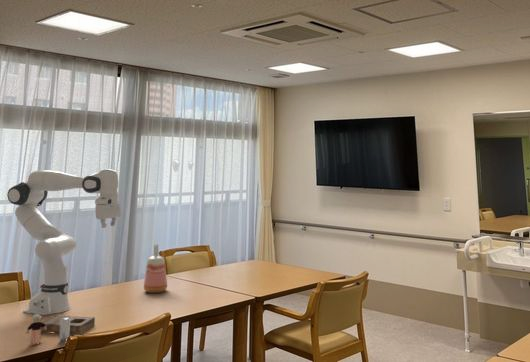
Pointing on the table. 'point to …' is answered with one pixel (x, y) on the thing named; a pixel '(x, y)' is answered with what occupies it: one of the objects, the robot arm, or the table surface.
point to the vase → (155, 273)
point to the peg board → (76, 324)
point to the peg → (64, 329)
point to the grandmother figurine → (36, 330)
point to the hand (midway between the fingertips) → (108, 226)
